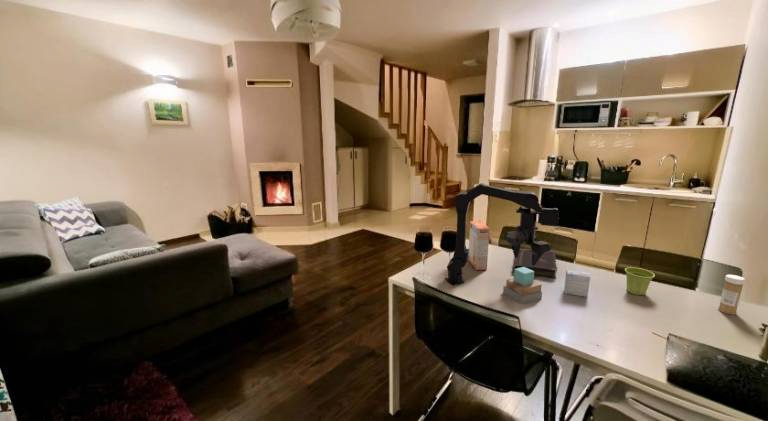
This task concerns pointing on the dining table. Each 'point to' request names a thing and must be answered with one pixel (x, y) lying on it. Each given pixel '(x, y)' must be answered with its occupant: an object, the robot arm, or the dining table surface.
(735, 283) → the sprinkles bottle
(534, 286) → the tan square block
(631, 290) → the plant pot
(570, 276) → the medicine box
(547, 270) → the diary
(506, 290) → the grey square slab
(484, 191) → the robot arm
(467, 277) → the dining table surface
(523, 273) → the teal cube
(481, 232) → the cracker box
